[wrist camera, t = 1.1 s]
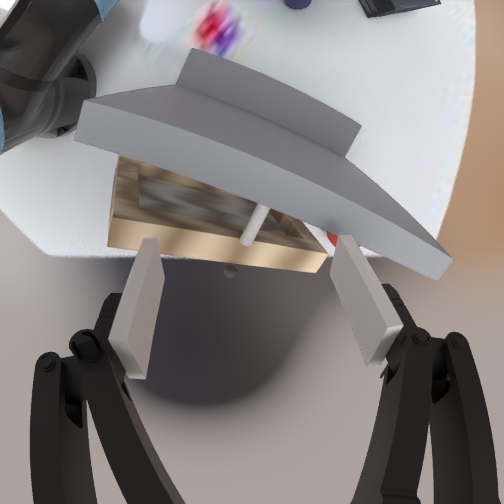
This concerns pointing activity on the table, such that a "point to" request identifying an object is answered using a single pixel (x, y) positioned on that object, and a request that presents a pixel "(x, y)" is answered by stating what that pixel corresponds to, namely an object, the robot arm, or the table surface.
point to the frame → (202, 222)
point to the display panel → (260, 154)
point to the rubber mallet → (298, 3)
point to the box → (394, 6)
